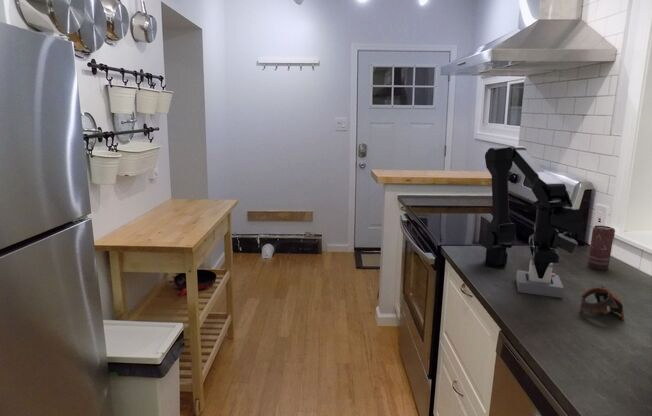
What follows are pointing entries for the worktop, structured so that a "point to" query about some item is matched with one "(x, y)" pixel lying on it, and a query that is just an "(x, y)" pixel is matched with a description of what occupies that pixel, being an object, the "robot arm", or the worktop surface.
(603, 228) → the can
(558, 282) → the socket block
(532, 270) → the plug
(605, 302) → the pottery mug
